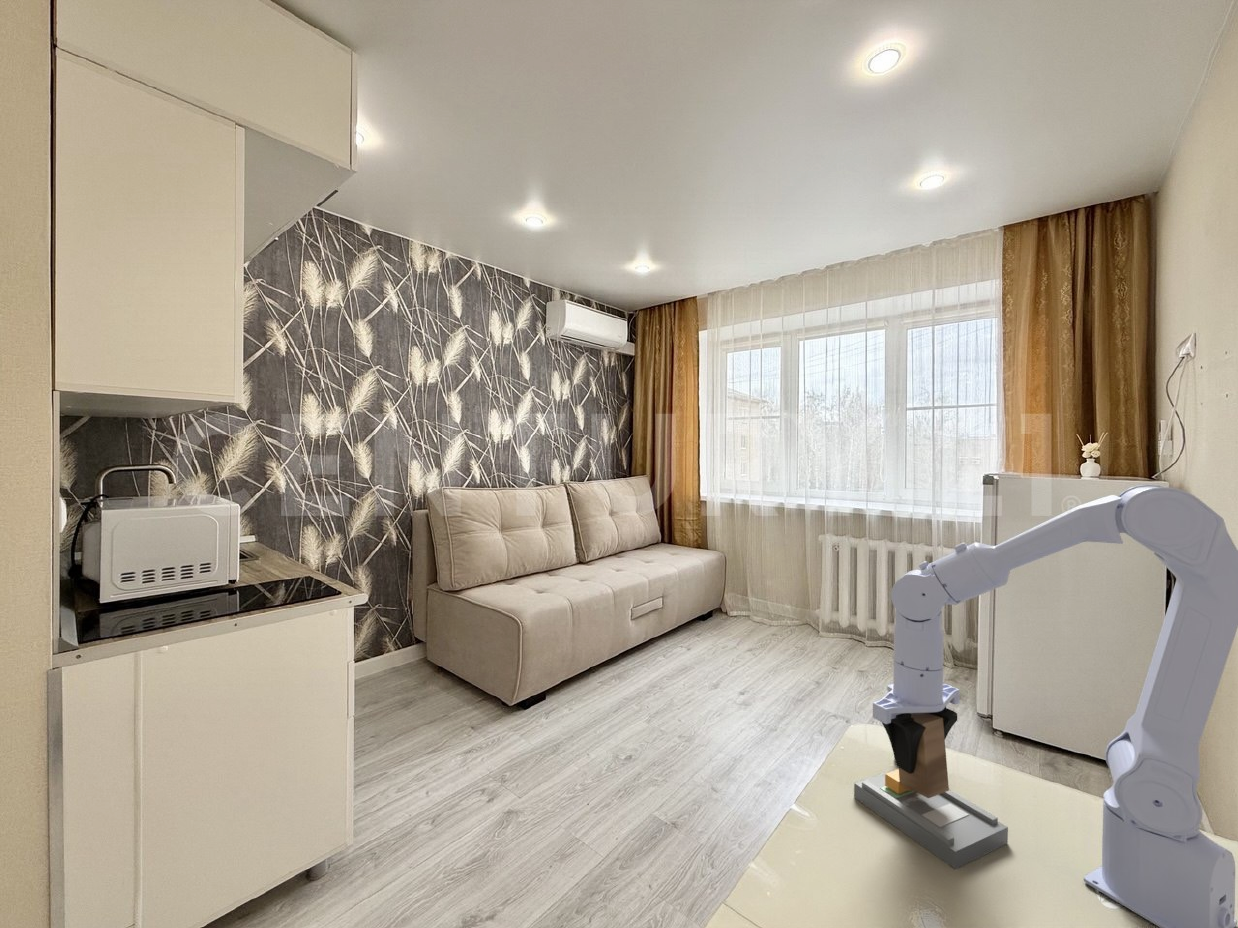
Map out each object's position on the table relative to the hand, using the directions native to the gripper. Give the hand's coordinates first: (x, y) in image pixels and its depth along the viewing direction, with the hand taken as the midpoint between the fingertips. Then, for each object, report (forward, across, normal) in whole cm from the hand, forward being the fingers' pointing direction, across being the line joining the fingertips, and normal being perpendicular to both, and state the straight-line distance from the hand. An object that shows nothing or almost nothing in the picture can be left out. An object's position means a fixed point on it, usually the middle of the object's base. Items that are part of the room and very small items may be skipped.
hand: (916, 765), depth 70 cm
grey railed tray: (+6, 0, +1) cm, 6 cm away
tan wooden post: (+2, 0, +1) cm, 3 cm away
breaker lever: (+4, 0, -2) cm, 4 cm away
